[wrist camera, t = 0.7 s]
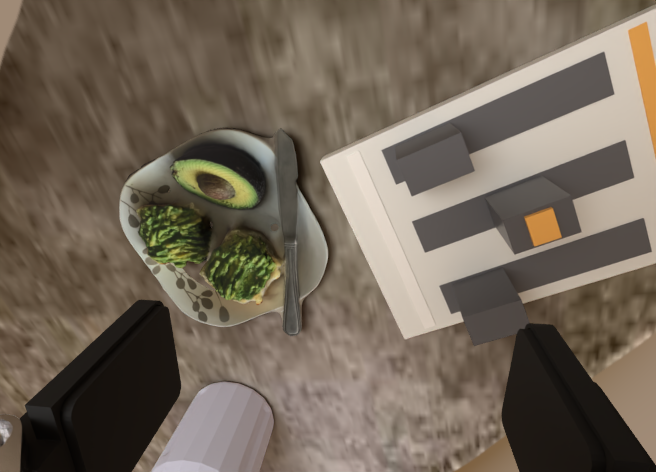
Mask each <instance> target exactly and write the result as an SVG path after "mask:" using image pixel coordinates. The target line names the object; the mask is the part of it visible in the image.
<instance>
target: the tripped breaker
mask: <svg viewBox="0 0 656 472" xmlns="http://www.w3.org/2000/svg"><path fill="white" fill-rule="evenodd" d="M485 199H486V202H487V205H488V208H489V211H490V213H491V216H492V219H493V222H494V224H495V227H496V229H497V230H498V231H499V233H500V234H501V236H502V237H503V239H504V240H505V242H506V243H507V244H508V246H509V247H510V249H511V250H512V252H513V253H514V255H515V254H518V253H521V252H524V251H527V250H530V249H533V248H536V247H539V246H542V245H545V244H548V243H551V242H554V241H557V240H560V239H563V238H566V237H569V236H572V235H575V234H578V233H581V232H582V231H581V227H580V224H579V221H578V217H577V214H576V210H575V207H574V203H573V200H572V197H571V195H570V194H568V193H567V192H565V191H564V190H562V189H561V188H559V187H558V186H556V185H555V184H554V183H552V182H551V181H549V180H548V179H546V178H545V177H543V176H539V177H536V178H534V179H531V180H529V181H526V182H523V183H521V184H518V185H515V186H513V187H510V188H508V189H505V190H502V191H500V192H497V193H494V194H492V195H489V196H487V197H485Z"/></svg>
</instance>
